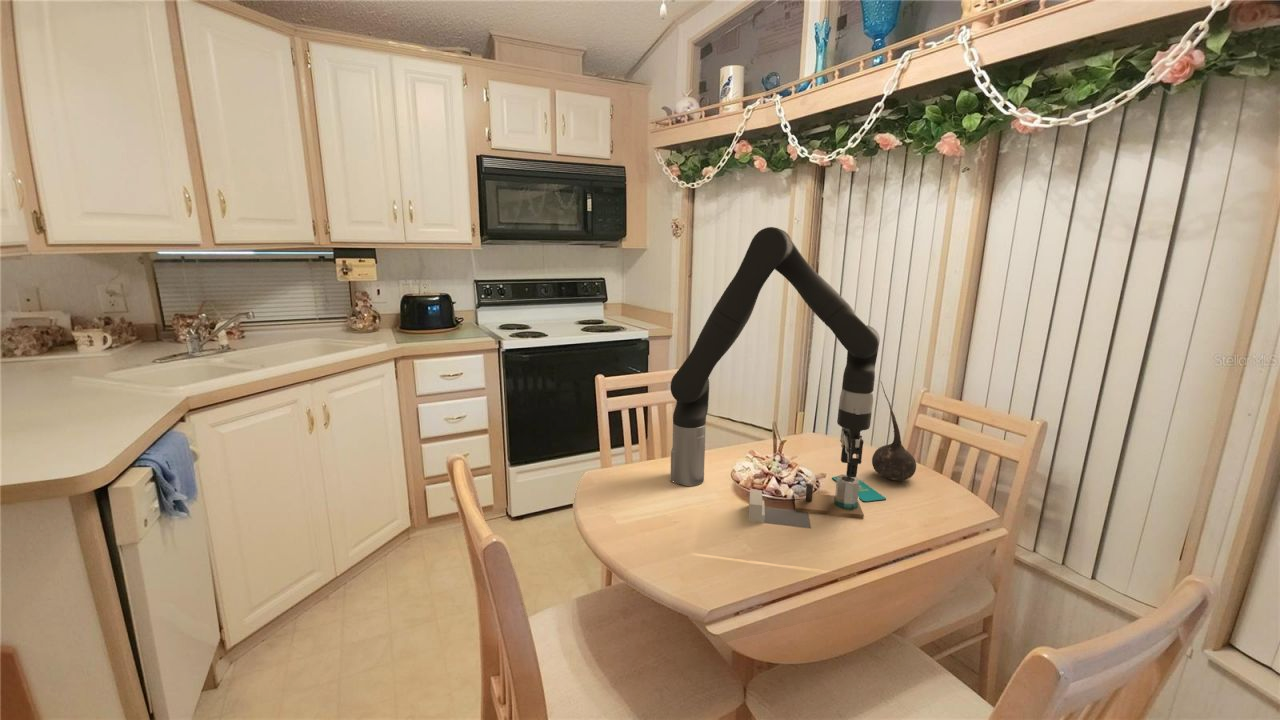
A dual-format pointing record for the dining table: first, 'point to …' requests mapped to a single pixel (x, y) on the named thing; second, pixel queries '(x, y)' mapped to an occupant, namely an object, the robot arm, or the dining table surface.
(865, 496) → the smartphone
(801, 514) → the feeder mat
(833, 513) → the pin board
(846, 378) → the robot arm
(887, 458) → the radish
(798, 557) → the dining table surface
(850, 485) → the sleeve
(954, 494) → the dining table surface
